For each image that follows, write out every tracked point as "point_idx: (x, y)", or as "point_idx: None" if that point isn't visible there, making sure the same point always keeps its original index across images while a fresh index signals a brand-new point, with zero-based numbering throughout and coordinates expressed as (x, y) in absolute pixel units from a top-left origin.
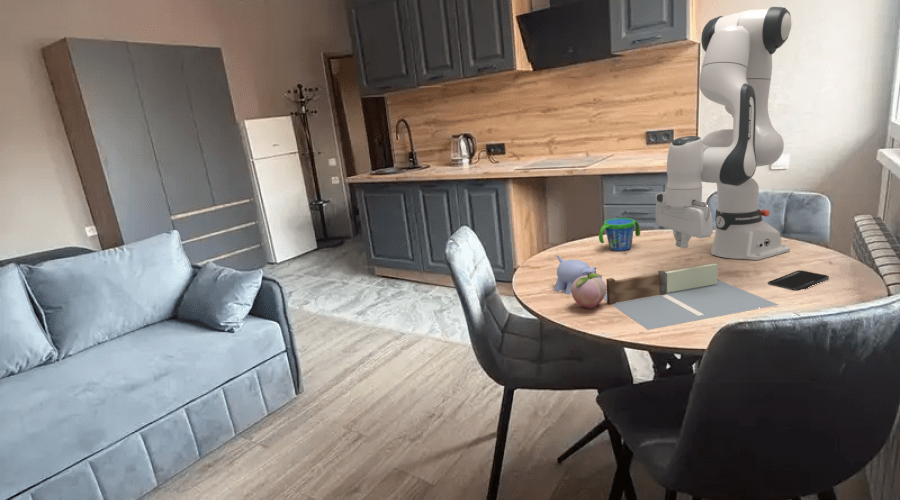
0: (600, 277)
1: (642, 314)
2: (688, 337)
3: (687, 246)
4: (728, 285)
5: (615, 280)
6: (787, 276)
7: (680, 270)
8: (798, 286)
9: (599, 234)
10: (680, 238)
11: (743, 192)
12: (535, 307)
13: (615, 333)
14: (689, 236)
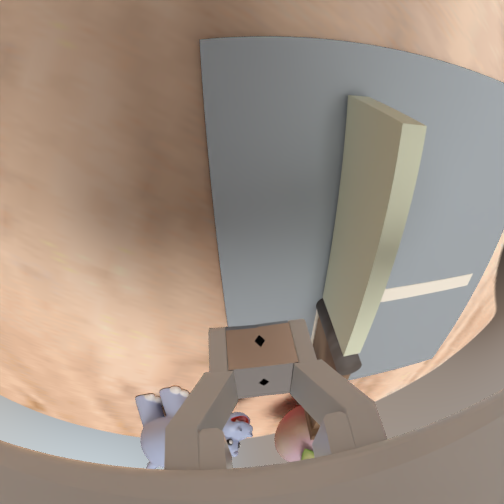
0: (241, 427)
1: (391, 357)
2: (480, 318)
3: (306, 325)
4: (393, 63)
5: (313, 426)
6: None
7: (370, 314)
8: None
9: None
10: (226, 395)
11: None
12: (252, 436)
13: (402, 383)
14: (368, 412)
